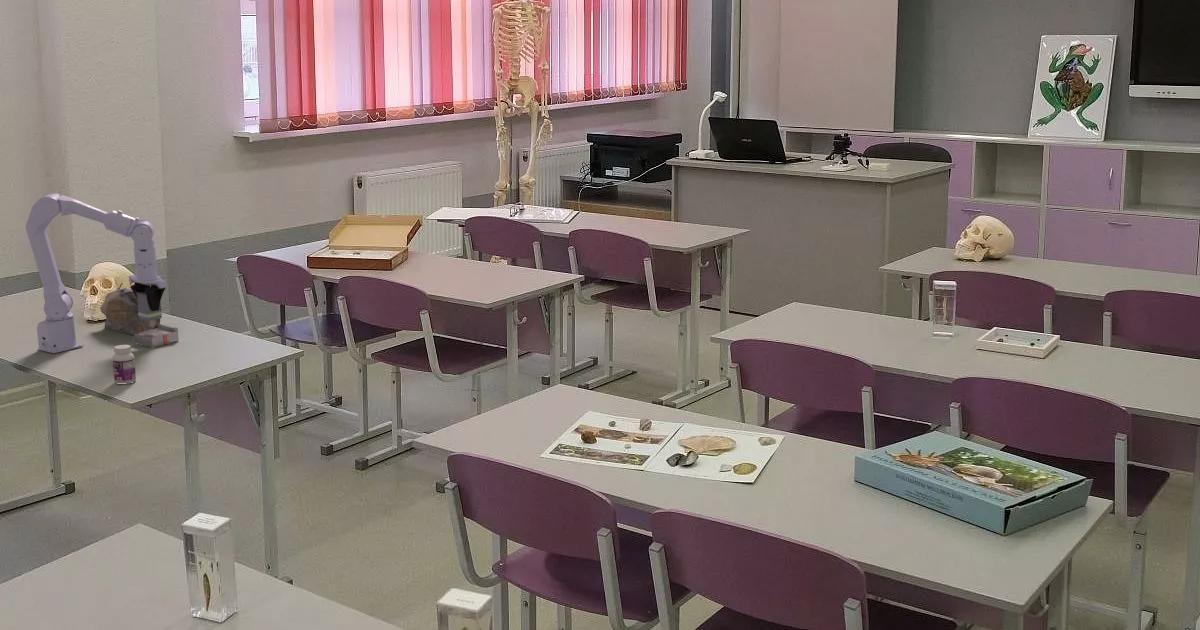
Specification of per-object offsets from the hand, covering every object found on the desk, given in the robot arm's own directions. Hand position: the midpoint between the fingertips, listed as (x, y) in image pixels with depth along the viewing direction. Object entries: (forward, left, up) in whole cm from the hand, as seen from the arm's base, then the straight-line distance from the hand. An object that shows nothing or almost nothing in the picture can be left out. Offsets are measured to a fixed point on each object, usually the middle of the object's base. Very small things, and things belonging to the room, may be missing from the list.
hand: (149, 309), depth 350 cm
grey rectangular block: (0, 0, -3) cm, 3 cm away
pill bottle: (-29, -28, -10) cm, 41 cm away
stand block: (+1, -1, -10) cm, 10 cm away
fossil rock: (+7, +19, -10) cm, 22 cm away
